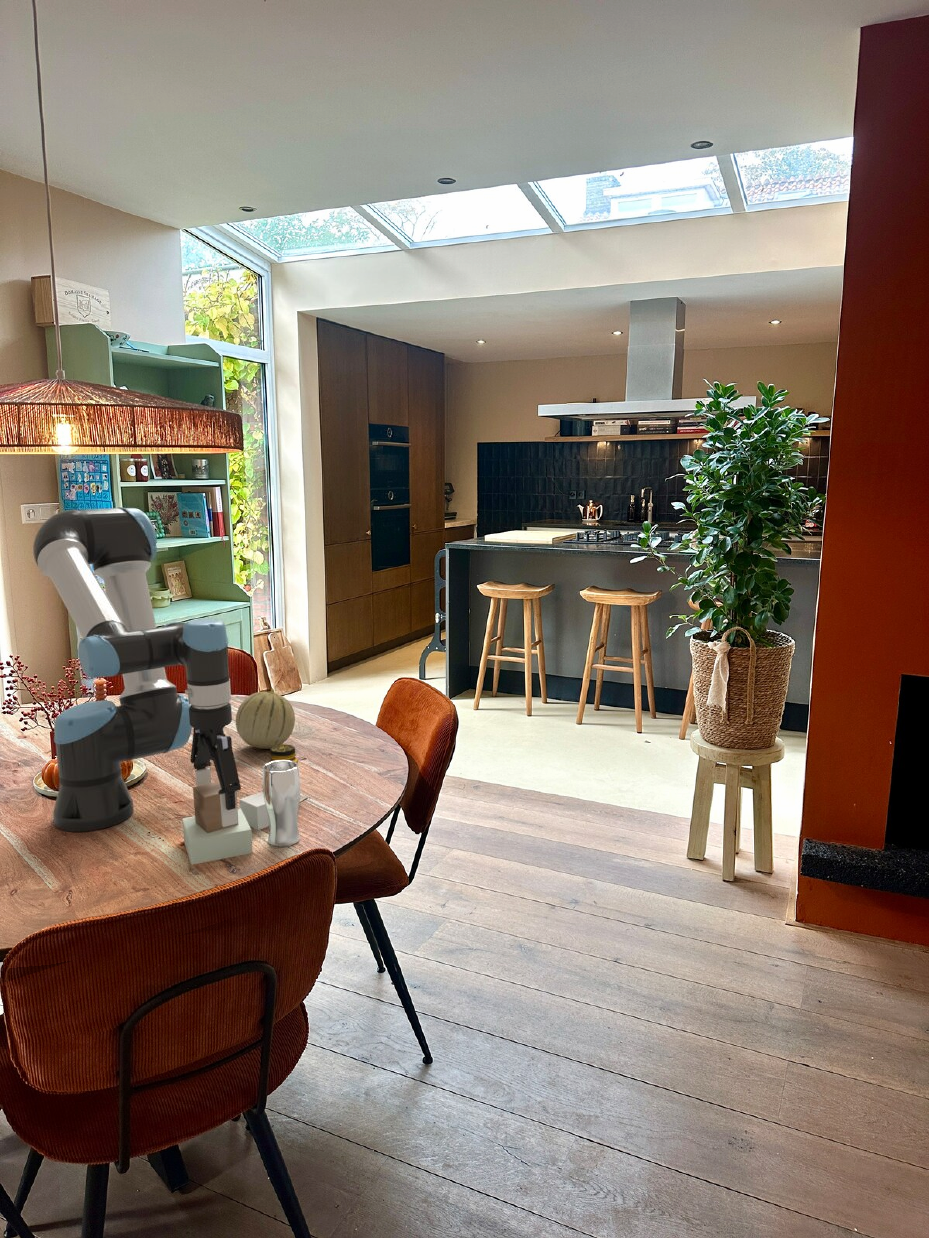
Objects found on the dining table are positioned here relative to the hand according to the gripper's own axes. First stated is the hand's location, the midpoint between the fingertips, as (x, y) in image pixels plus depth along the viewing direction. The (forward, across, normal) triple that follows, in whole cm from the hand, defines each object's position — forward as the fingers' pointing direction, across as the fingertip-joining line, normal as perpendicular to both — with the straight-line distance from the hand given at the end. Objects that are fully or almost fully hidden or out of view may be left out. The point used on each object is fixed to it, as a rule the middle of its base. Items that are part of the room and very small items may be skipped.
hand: (217, 812), depth 159 cm
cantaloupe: (+7, -49, +30) cm, 58 cm away
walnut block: (+2, 0, 0) cm, 2 cm away
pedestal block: (+7, 0, 0) cm, 7 cm away
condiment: (+7, -14, +19) cm, 25 cm away
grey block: (+7, -6, +11) cm, 14 cm away
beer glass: (+7, +5, +11) cm, 14 cm away
